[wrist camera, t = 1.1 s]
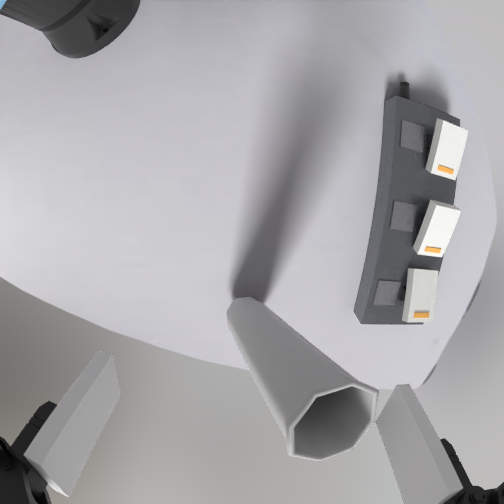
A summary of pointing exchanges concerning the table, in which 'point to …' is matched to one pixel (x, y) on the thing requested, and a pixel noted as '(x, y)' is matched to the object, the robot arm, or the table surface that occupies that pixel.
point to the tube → (301, 384)
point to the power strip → (401, 208)
